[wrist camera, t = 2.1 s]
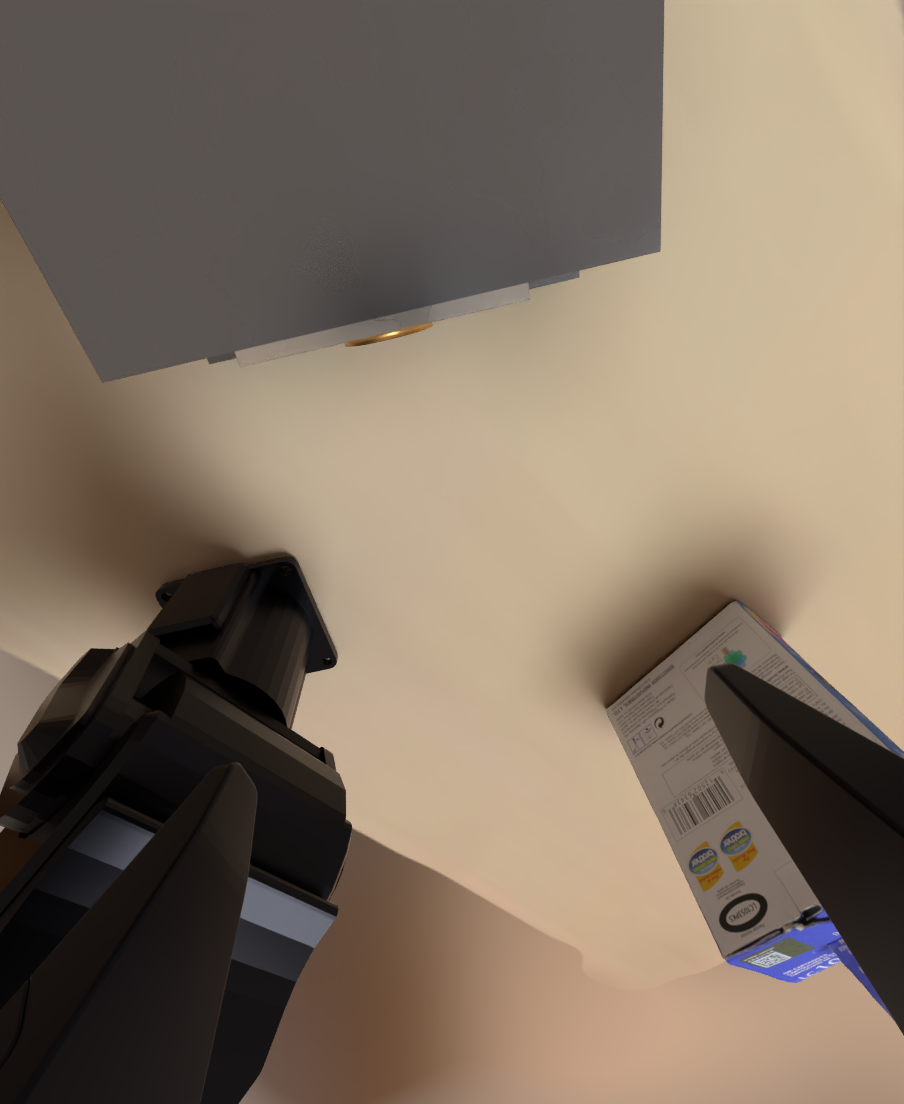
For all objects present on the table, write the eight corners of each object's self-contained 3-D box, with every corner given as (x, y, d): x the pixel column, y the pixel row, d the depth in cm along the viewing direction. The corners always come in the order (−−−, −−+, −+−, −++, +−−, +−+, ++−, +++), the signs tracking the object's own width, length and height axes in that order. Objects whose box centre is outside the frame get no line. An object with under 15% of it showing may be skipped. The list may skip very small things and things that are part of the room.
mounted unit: (570, 280, 17) (683, 278, 10) (220, 362, 17) (96, 415, 10) (544, -111, 12) (716, -606, 6) (72, 12, 13) (-322, -307, 6)
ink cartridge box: (659, 742, 30) (839, 1070, 18) (599, 710, 28) (752, 1052, 16) (790, 640, 27) (1132, 958, 14) (732, 595, 25) (1067, 917, 12)
